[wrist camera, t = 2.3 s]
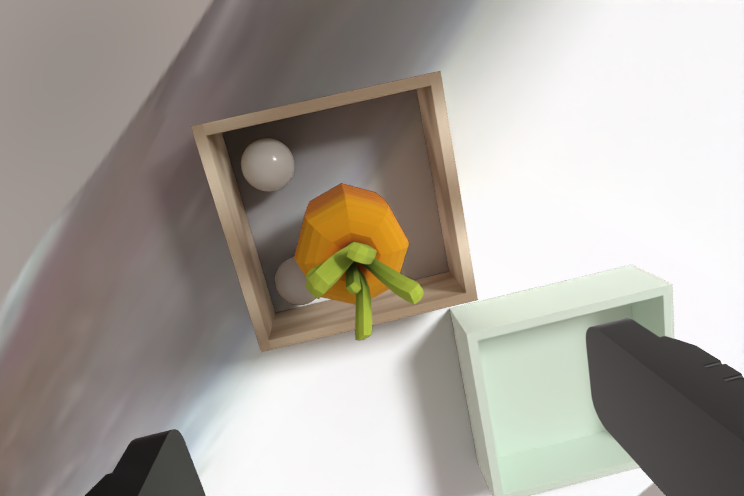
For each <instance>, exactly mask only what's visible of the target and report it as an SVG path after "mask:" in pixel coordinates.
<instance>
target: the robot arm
mask: <svg viewBox="0 0 744 496" xmlns="http://www.w3.org/2000/svg"><path fill="white" fill-rule="evenodd" d="M586 348H587V358H588V368H589V377H590V387H591V396H592V401H593V405H594V408H595V411H596V413H597V415H598V418H599V419H600V421H601V423H602V425H603V426H604V428H605V429H606V430H607V431H608V432H609V433H610V435H611V436H612V437H613V438H614V439H615V440H616V441H617V442H618V443H619V444H620V446H621V447H622V448H623V449H624V450H625V451H626V452H627V453H628V454H629V456H630V457H631V458H632V459H633V460H634V461H635V462H636V463H637V464H638V465H639V467H640V468H641V469H642V470H643V471H644V472H645V473H646V474H647V475H648V476H649V478H650V479H651V480H652V481H653V482H654V483H655V484H656V485H657V486H658V488H659V489H660V490H661V491H662V492H663V493H664V494H665V495H666V496H744V378H743V376H742V374H741V373H740V372H738V371H736V370H735V369H733V368H731V367H730V366H728V365H727V364H723V365H722V364H721V361H720V360H718V359H717V358H715V357H713V356H712V355H710V354H709V353H707V352H705V351H704V350H702V349H700V348H699V347H697V346H695V345H692V344H689V343H686V342H683V341H680V340H677V339H673V338H670V337H667V336H662V337H659V336H657V335H656V334H654V333H652V332H651V331H649V330H648V329H646V328H645V327H643V326H642V325H640V324H639V323H637V322H636V321H634V320H632V319H630V318H624V319H620V320H616V321H612V322H608V323H604V324H600V325H596V326H592V327H589V328H588V329H587V331H586ZM85 496H205V493H204V490H203V487H202V485H201V482H200V480H199V477H198V474H197V472H196V469H195V467H194V464H193V461H192V459H191V456H190V454H189V451H188V449H187V446H186V443H185V441H184V438H183V436H182V435H181V433H180V432H179V431H178V430H175V429H173V430H169V431H165V432H161V433H157V434H153V435H149V436H145V437H141V438H137V439H134V440H132V441H131V442H130V444H129V445H128V447H127V449H126V450H125V452H124V454H123V456H122V457H121V459H120V461H119V462H118V464H117V466H116V467H115V469H114V471H113V472H112V473H111V474H107V475H105V476H104V477H103V478H102V479H101V480H100V481H99V482H98V483H97V484H96V485H95V486H94V487H93V488H92V489H91V490H90V491H89V492H88V493H87V494H86V495H85Z"/></svg>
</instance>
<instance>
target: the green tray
mask: <svg viewBox="0 0 744 496" xmlns="http://www.w3.org/2000/svg"><path fill="white" fill-rule="evenodd" d="M450 313H451V318H452V324H453V329H454V334H455V340H456V345H457V351H458V356H459V362H460V367H461V373H462V378H463V384H464V389H465V395H466V400H467V406H468V411H469V417H470V422H471V428H472V433H473V439H474V444H475V450H476V455H477V461H478V465H479V467H480V469H481V471H482V474H483V476H484V478H485V480H486V483H487V485H488V487H489V489H490V492H491V494H492V496H531V495H535V494H539V493H543V492H546V491H550V490H554V489H558V488H562V487H566V486H570V485H574V484H578V483H582V482H585V481H589V480H593V479H597V478H601V477H605V476H609V475H613V474H617V473H620V472H624V471H628V470H632V469H636V468H640V467H639V465H638V464H637V463H636V462H635V461H634V460H633V459H632V458H631V457H630V456H629V454H628V453H627V452H626V451H625V450H624V449H623V448H622V447H621V446H620V444H619V443H618V442H617V441H616V440H615V439H614V438H613V437H612V436H611V435H610V433H609V432H608V431H607V430H606V429H605V428H604V426H603V425H602V423H601V421H600V419H599V418H598V415H597V413H596V411H595V408H594V405H593V401H592V396H591V387H590V377H589V368H588V358H587V348H586V331H587V329H588V328H589V327H592V326H596V325H600V324H604V323H608V322H612V321H616V320H620V319H624V318H630V319H632V320H634V321H636V322H637V323H639V324H640V325H642V326H643V327H645V328H646V329H648V330H649V331H651V332H652V333H654V334H656V335H657V336H659V337H662V336H667V337H670V338H673V339H674V316H673V289H672V284H671V283H669V282H667V281H665V280H663V279H661V278H659V277H657V276H655V275H653V274H651V273H649V272H647V271H644V270H642V269H640V268H638V267H636V266H634V265H628V266H624V267H619V268H615V269H611V270H607V271H603V272H599V273H595V274H590V275H586V276H582V277H578V278H574V279H570V280H565V281H561V282H557V283H553V284H549V285H545V286H541V287H536V288H532V289H528V290H524V291H520V292H516V293H511V294H507V295H503V296H499V297H495V298H491V299H487V300H482V301H478V302H474V303H470V304H466V305H462V306H457V307H453V308H450Z"/></svg>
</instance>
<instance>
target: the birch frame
mask: <svg viewBox="0 0 744 496" xmlns="http://www.w3.org/2000/svg"><path fill="white" fill-rule="evenodd" d="M415 89H417V94H418V100H419V105H420V111H421V117H422V122H423V128H424V133H425V139H426V145H427V150H428V156H429V162H430V167H431V173H432V178H433V184H434V190H435V195H436V201H437V206H438V212H439V218H440V223H441V229H442V234H443V240H444V246H445V251H446V257H447V263H448V268H449V272H446V273H442V274H437V275H433V276H429V277H425V278H421V279H416V280H414V281H415V282H417V283H419V284H420V286H421V288H422V289H423V293H424V295H423V297H422V298H421V300H420V301H419V302H417V303H416V304H412V303H410V302H408V301H406V300H404V299H402V298H401V297H399V296H398V295H396V294H395V293H394V292H392V291H391V290H390V289H389V290H387V291H385V292H383V293H381V294H380V295H378V296H376V297H374V298H373V299H371V307H372V325H376V324H380V323H384V322H389V321H393V320H397V319H401V318H405V317H409V316H413V315H418V314H422V313H426V312H430V311H434V310H438V309H443V308H447V307H451V306H455V305H459V304H463V303H468V302H472V301H476V300H478V299H477V293H476V287H475V281H474V274H473V268H472V262H471V256H470V250H469V244H468V238H467V232H466V225H465V219H464V213H463V207H462V201H461V195H460V189H459V183H458V176H457V170H456V164H455V158H454V152H453V146H452V140H451V133H450V127H449V121H448V115H447V109H446V103H445V97H444V91H443V84H442V78H441V72H440V71H437V72H433V73H428V74H424V75H419V76H415V77H410V78H406V79H401V80H397V81H392V82H388V83H383V84H379V85H374V86H370V87H366V88H361V89H357V90H352V91H348V92H343V93H339V94H334V95H330V96H325V97H321V98H316V99H312V100H307V101H303V102H298V103H294V104H289V105H285V106H280V107H276V108H271V109H267V110H262V111H258V112H253V113H249V114H244V115H240V116H235V117H231V118H226V119H222V120H217V121H213V122H208V123H204V124H199V125H195V126H191V129H192V132H193V135H194V138H195V141H196V145H197V148H198V151H199V154H200V157H201V161H202V164H203V167H204V170H205V173H206V177H207V180H208V183H209V186H210V189H211V193H212V196H213V199H214V202H215V205H216V209H217V212H218V215H219V218H220V221H221V225H222V228H223V231H224V234H225V237H226V241H227V244H228V247H229V250H230V253H231V257H232V260H233V263H234V266H235V269H236V273H237V276H238V279H239V282H240V285H241V289H242V292H243V295H244V298H245V301H246V305H247V308H248V311H249V314H250V317H251V321H252V324H253V327H254V330H255V333H256V337H257V340H258V343H259V346H260V349H261V352H264V351H268V350H272V349H276V348H280V347H285V346H289V345H293V344H297V343H301V342H305V341H310V340H314V339H318V338H322V337H326V336H330V335H335V334H339V333H343V332H347V331H351V330H355V311H356V305H354V304H350V303H345V302H341V301H337V300H328V301H324V302H320V303H316V304H311V305H307V306H303V307H299V308H295V309H290V310H286V311H282V312H278V313H275V311H274V307H273V304H272V300H271V297H270V294H269V290H268V287H267V284H266V280H265V277H264V273H263V270H262V267H261V263H260V260H259V257H258V253H257V250H256V246H255V243H254V240H253V236H252V233H251V229H250V226H249V223H248V219H247V216H246V213H245V209H244V206H243V202H242V199H241V196H240V192H239V189H238V186H237V182H236V179H235V175H234V172H233V169H232V165H231V162H230V159H229V155H228V152H227V148H226V145H225V142H224V138H223V135H222V133H223V132H227V131H232V130H236V129H240V128H245V127H249V126H254V125H258V124H263V123H267V122H272V121H276V120H281V119H285V118H290V117H294V116H299V115H303V114H308V113H312V112H317V111H321V110H326V109H330V108H334V107H339V106H343V105H348V104H352V103H357V102H361V101H366V100H370V99H375V98H379V97H384V96H388V95H393V94H397V93H402V92H406V91H411V90H415Z"/></svg>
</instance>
